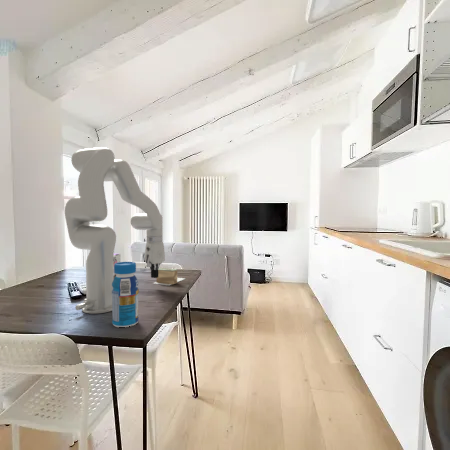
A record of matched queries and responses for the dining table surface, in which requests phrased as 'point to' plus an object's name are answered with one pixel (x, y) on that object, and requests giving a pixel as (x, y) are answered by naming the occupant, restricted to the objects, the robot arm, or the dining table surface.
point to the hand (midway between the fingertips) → (154, 277)
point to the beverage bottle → (125, 295)
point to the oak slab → (167, 276)
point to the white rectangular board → (170, 284)
